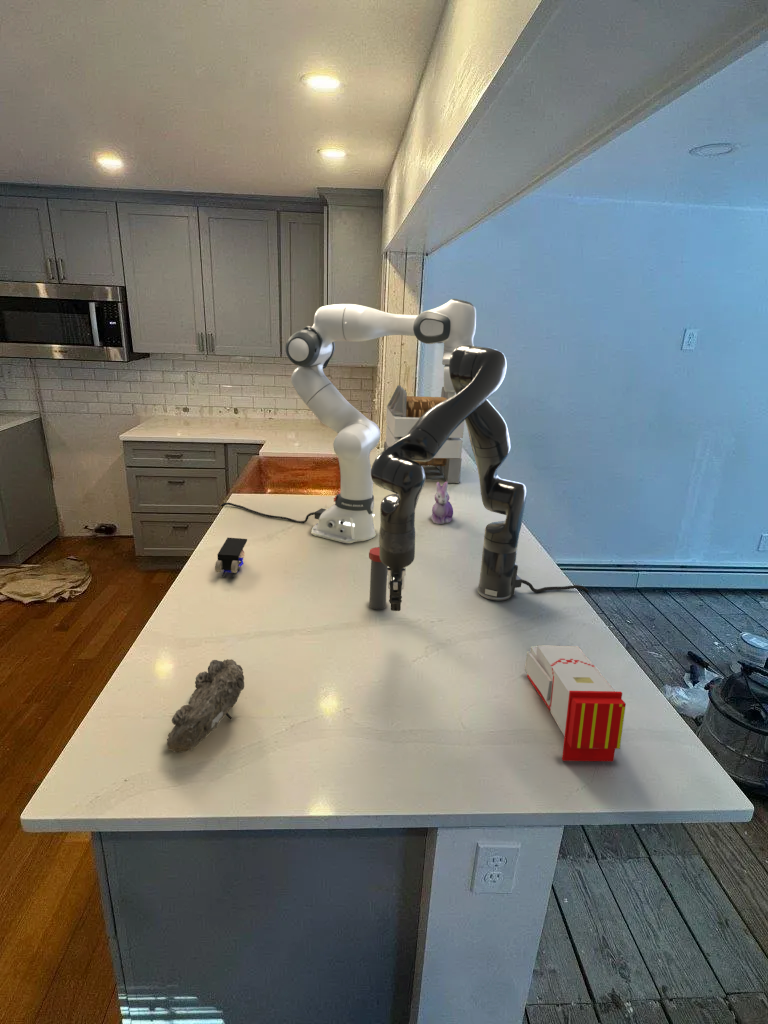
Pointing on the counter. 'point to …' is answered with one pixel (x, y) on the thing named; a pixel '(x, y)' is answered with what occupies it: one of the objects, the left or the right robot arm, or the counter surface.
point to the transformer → (404, 417)
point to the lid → (374, 554)
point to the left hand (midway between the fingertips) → (454, 403)
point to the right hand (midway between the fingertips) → (396, 596)
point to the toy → (578, 701)
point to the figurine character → (230, 556)
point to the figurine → (442, 505)
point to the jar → (378, 585)
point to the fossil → (206, 705)
